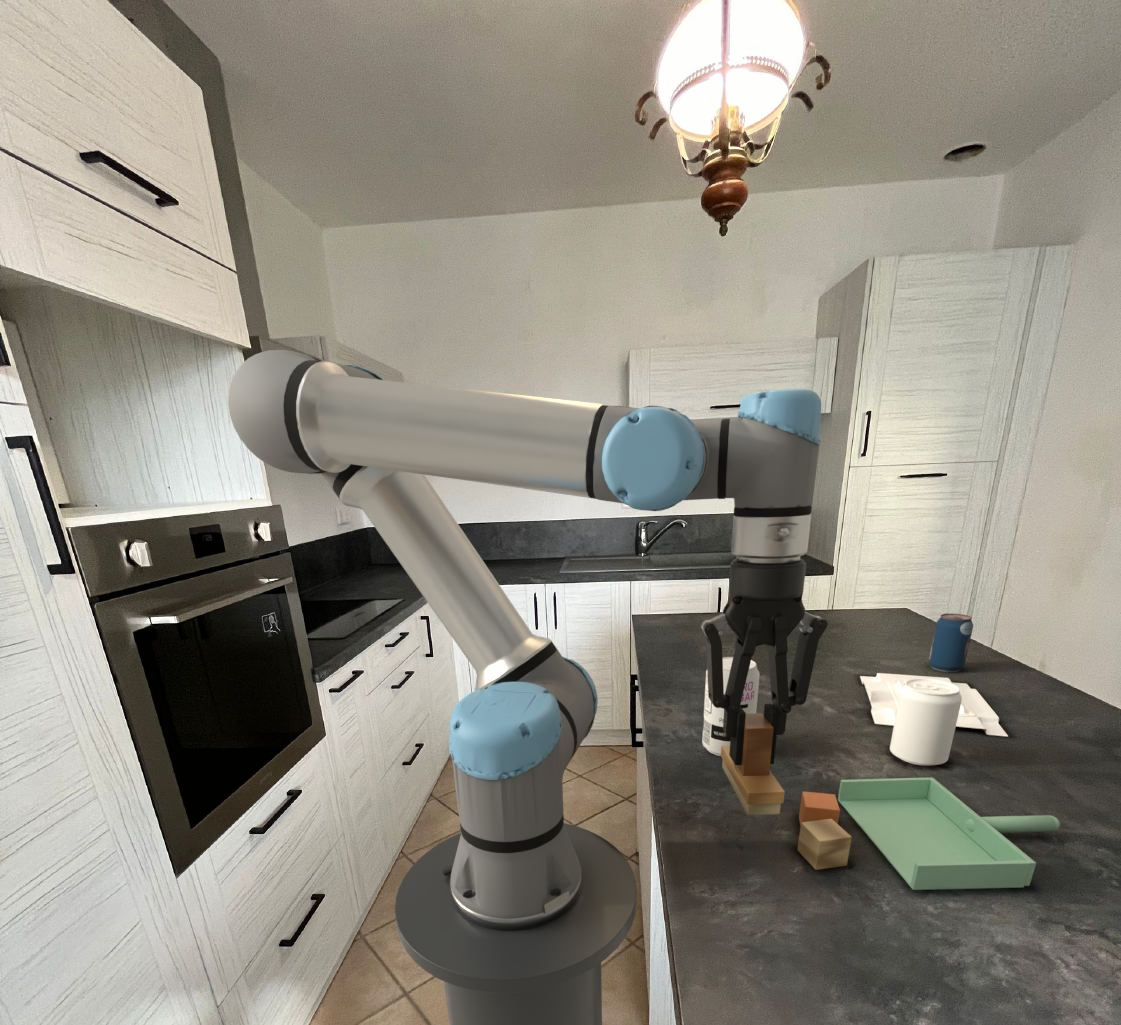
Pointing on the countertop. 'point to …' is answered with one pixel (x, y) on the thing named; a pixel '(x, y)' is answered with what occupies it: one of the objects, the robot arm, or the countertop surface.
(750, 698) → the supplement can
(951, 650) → the soda can
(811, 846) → the chunk
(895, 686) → the tray
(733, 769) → the brush
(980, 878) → the dustpan
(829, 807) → the chunk
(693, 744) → the countertop surface
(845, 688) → the countertop surface
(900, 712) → the beverage can
